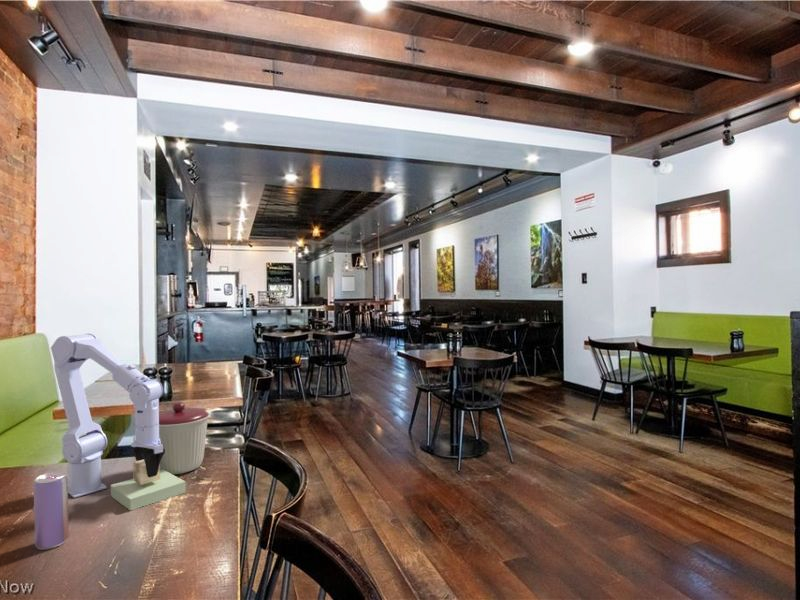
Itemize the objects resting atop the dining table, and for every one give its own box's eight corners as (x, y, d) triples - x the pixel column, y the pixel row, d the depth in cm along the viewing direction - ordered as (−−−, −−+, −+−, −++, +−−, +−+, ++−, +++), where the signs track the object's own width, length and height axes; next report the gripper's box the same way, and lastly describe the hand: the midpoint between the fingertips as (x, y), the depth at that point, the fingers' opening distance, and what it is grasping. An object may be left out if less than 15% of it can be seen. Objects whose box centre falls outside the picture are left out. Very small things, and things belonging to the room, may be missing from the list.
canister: (135, 481, 135) (134, 410, 134) (162, 459, 153) (161, 396, 152) (199, 479, 136) (197, 408, 136) (218, 457, 154) (217, 395, 154)
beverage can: (50, 552, 98) (49, 482, 97) (27, 549, 99) (26, 480, 99) (75, 537, 103) (74, 472, 103) (53, 535, 105) (52, 470, 104)
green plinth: (110, 495, 125) (110, 485, 125) (163, 479, 136) (163, 469, 136) (130, 510, 116) (130, 499, 116) (185, 492, 127) (185, 481, 127)
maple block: (133, 480, 125) (132, 462, 125) (152, 474, 129) (152, 457, 129) (140, 485, 122) (140, 466, 122) (160, 479, 126) (159, 461, 126)
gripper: (121, 423, 127) (122, 471, 127) (142, 432, 118) (143, 485, 118) (148, 417, 133) (148, 464, 133) (170, 426, 123) (171, 476, 124)
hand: (148, 473), depth 126 cm, fingers closed on maple block, 5 cm apart
